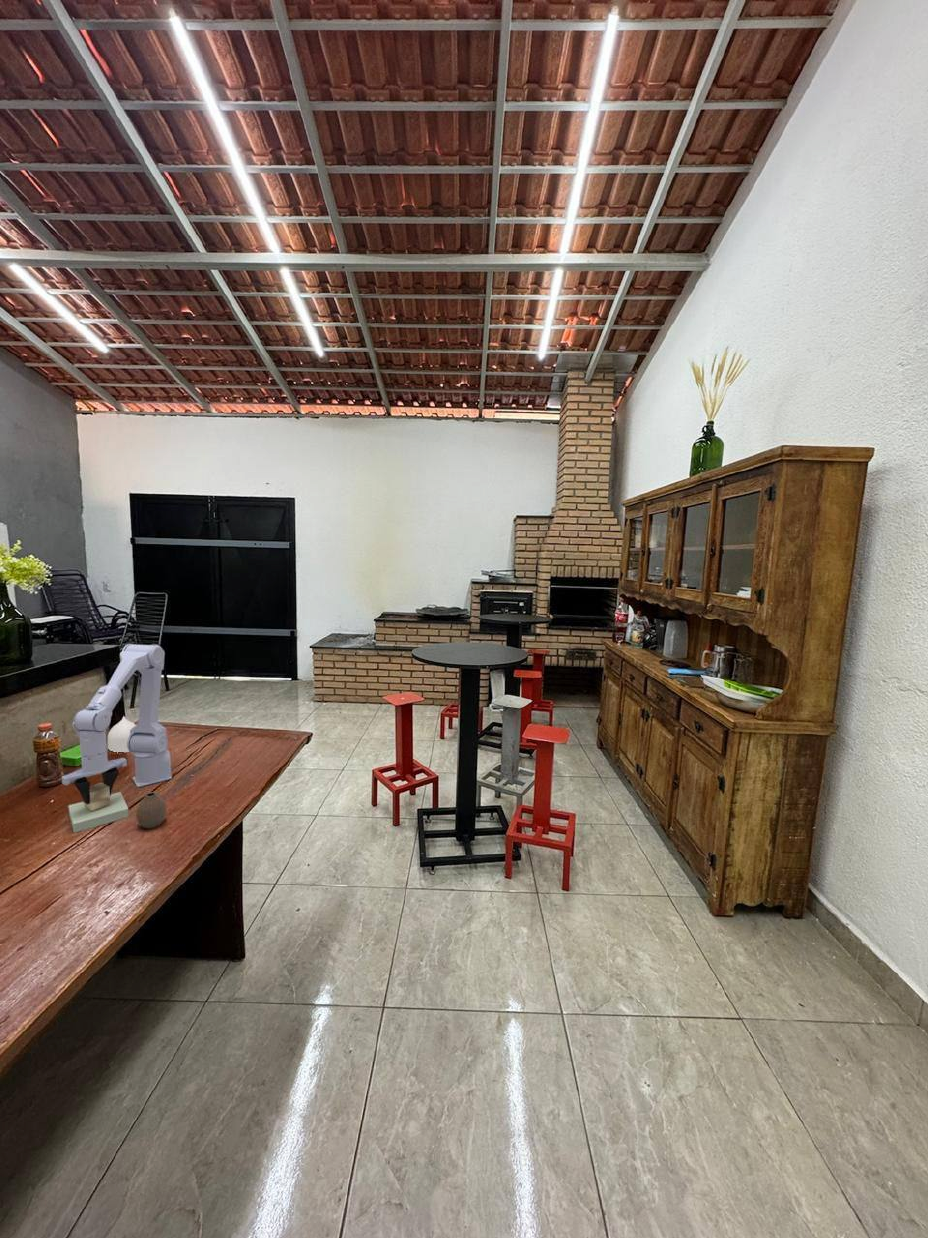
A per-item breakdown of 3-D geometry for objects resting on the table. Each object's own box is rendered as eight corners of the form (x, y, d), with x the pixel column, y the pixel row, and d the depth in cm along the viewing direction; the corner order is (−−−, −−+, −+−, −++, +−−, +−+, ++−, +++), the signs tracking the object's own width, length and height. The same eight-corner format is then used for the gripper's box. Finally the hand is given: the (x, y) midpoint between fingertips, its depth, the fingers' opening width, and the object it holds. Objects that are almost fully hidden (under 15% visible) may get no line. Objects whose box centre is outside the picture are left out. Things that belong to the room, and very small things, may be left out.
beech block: (102, 799, 138) (101, 782, 138) (110, 803, 136) (109, 786, 135) (84, 805, 134) (82, 788, 134) (91, 810, 132) (90, 793, 131)
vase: (173, 820, 134) (171, 791, 133) (149, 834, 128) (148, 803, 127) (154, 815, 137) (152, 786, 135) (130, 828, 130) (128, 797, 129)
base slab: (121, 800, 144) (120, 792, 144) (128, 817, 135) (128, 808, 135) (69, 814, 136) (68, 805, 135) (73, 833, 127) (73, 824, 127)
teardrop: (150, 743, 184) (149, 713, 182) (122, 755, 173) (120, 722, 172) (129, 739, 187) (127, 709, 185) (99, 750, 177) (97, 718, 175)
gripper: (117, 740, 141) (120, 784, 143) (55, 757, 129) (59, 805, 131) (129, 746, 137) (132, 791, 139) (66, 764, 125) (70, 814, 127)
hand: (97, 799), depth 135 cm, fingers closed on beech block, 4 cm apart
